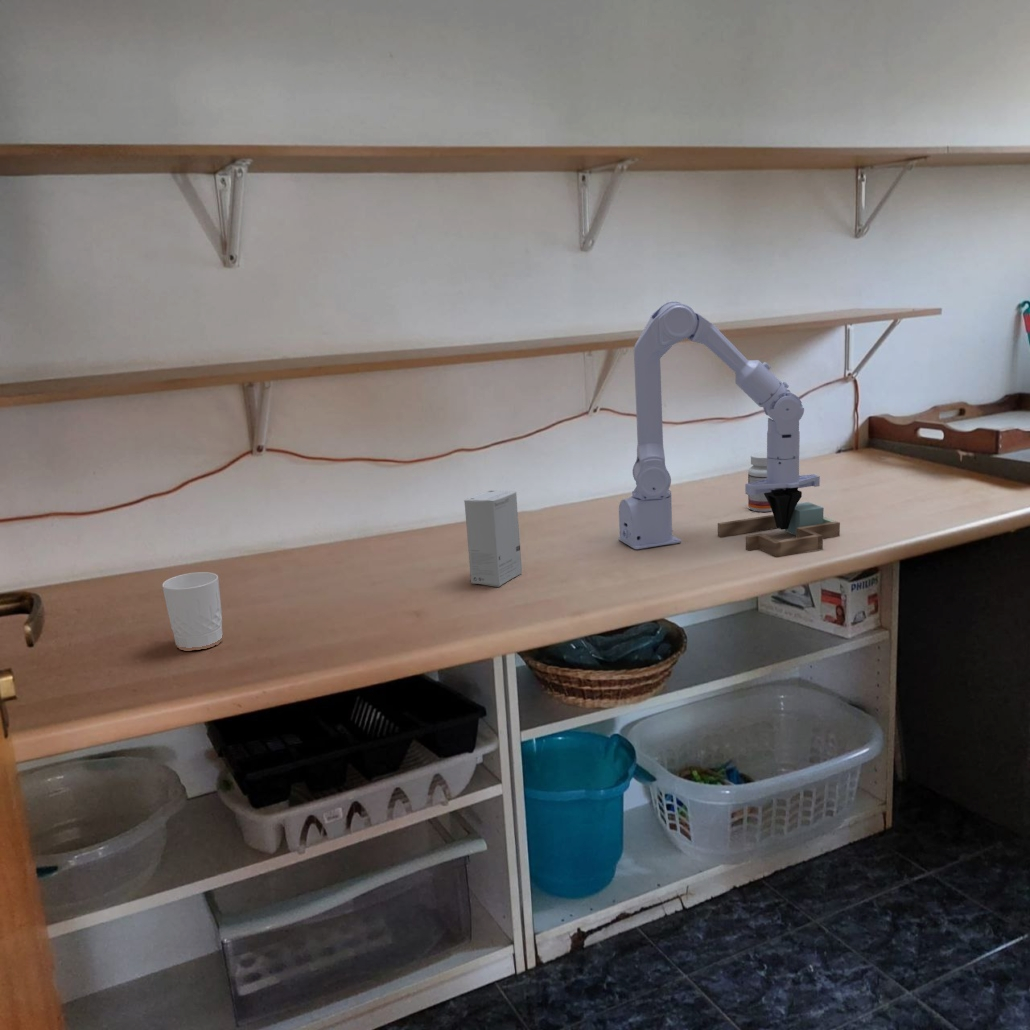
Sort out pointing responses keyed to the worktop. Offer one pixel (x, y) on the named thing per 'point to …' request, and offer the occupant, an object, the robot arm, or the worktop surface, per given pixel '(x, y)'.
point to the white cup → (194, 608)
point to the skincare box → (493, 537)
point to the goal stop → (827, 520)
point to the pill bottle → (757, 474)
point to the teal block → (805, 516)
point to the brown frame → (805, 541)
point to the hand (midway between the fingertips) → (782, 528)
